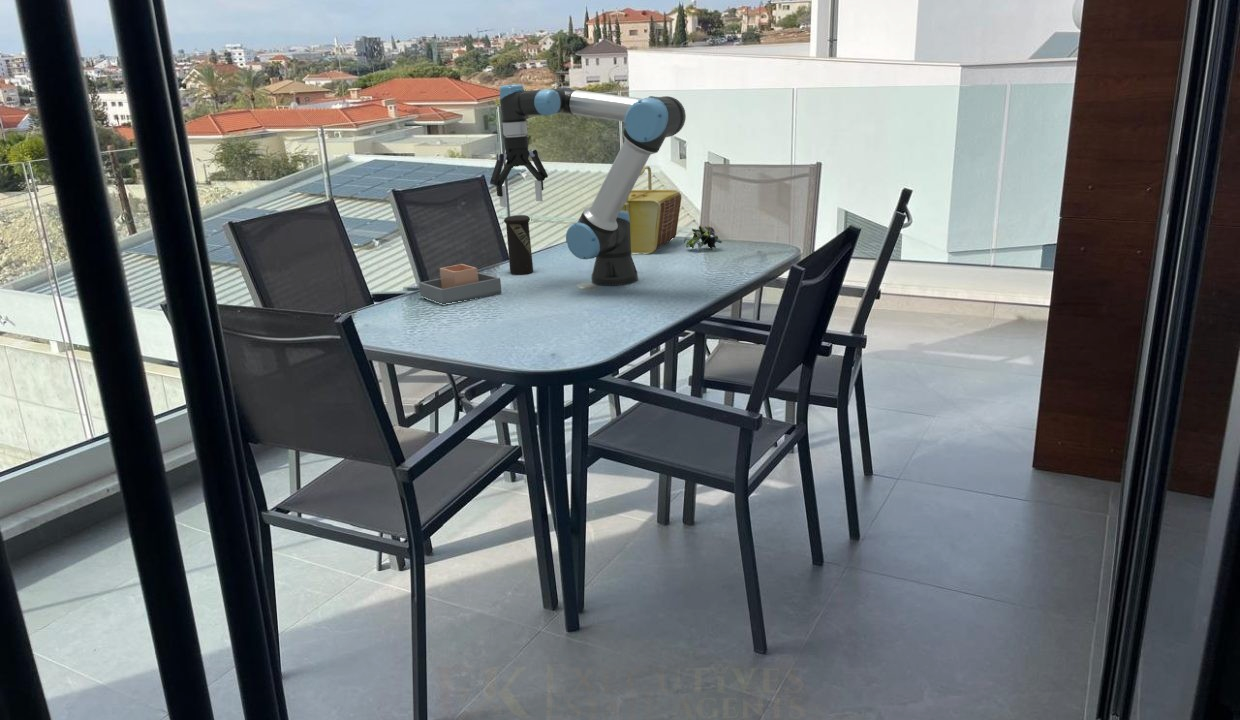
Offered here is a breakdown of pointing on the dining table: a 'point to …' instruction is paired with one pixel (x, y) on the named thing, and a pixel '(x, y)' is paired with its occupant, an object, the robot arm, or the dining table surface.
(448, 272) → the small crate
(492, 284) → the grey tray
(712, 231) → the passion flower
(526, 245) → the container
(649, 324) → the dining table surface
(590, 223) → the robot arm
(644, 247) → the picnic basket
